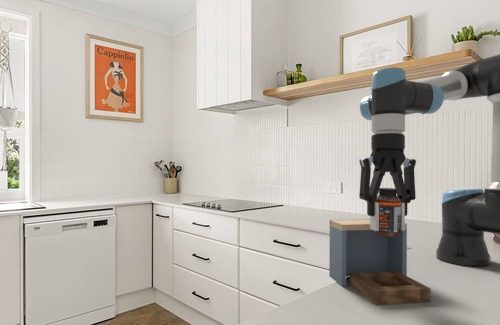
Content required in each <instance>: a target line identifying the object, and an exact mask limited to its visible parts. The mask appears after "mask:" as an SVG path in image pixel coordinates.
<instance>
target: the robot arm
mask: <svg viewBox="0 0 500 325" xmlns="http://www.w3.org/2000/svg"><path fill="white" fill-rule="evenodd" d="M370 90H371V94H369V95H366V96H365V97H363V98H362V99H361V101H360V104H359V110H360V111H359V112H360V114H361V116H362V117H363V118H364V119H365V120H367V121H371V133H373V134H372V136H371V137H370V138H371V140H370V141H371V143H370V144H371V147H370V149H371V153H370V156H369V157H368V156H367V157H363V158H359V164H360V182H359V183H360V184H359V193H358V194H359V200H363V201H365V202H366V213H367V216H369V219H370V229H372V230H375V231H379V203H375V202H376V199H377V197H378V196H379V189H380V188H381V185H382V181H383V180H384V179H383V178H384V176H385V175H386V174H387V173H389V175H390V176H391V178H392V182H393V185H394V188H395V189H397V194H396V195H397V197H398V198H399V199H400V200H401V228H400V230H402V231H405V223H406V222H405V221H406V217H407V216H408V204H410V203H411V202H412V201H415V200H416V182H415V181H416V179H415V178H416V177H415V168H416V164H417V160H416V159H415V158H411V159H410V158H408V157H406V154H405V153H404V152H405V147H406V136H405V134H404V132H405V131H406V116H407V115H413V114H421V115H425V114H426V115H427V114H429V115H431V114H433V113H436V112H437V111H438V110H439V109H441V107H442V105H443V103H444V101H447V100H448V101H458V100H462V99H463V100H464V99H473V98H481V97H486V99H487V100H488V101H489V102H490V103H491V104H492V130H491V131H492V132H491V133H492V134H491V159H490V160H491V161H490V162H491V165H490V166H491V167H490V168H491V170H490V183H489V184H487V185H486V186H485V187H484V189H483V188H474V189H471V188H470V189H469V188H468V189H456V190H453V189H452V190H447V191H444V192H443V193H442V197H441V198H442V200H441V225H442V226H441V227H442V228H441V229H442V230H441V232H442V234H441V237H440V241H439V243H438V247H437V249H436V254H435V255H436V259H438V260H439V261H440V260H441V261H442V262H446V263H449V264H455V265H460V266H469V267H484V266H485V267H486V266H489V265H491V262H492V261H491V258H492V257H491V255H490V253H489V248H488V246H487V244H486V241H485V236H484V235H485V233H490V234H494V235H495V234H496V235H500V53H498V54H497V55H496V54H495V55H493V56H489V57H486V58H482V59H477V60H475V61H472V62H469V63H468V64H465V65H462V66H461V67H458V68H455V69H453V70H449V71H446V72H444V74H442V76H438V77H435V78H430V79H426V80H423V81H412V80H408V79H407V76H406V71H405V70H404V69H403V68H401V67H397V66H393V67H385V68H380V69H377V70H376V71H375V72H373V74H372V79H371V88H370ZM372 165H373V166H374V169H373V172H371V170H372V168H371V166H372ZM401 166H403V169H402V167H401ZM371 174H372V179H371Z"/></svg>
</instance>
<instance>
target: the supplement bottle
mask: <svg viewBox="0 0 500 325" xmlns="http://www.w3.org/2000/svg"><path fill="white" fill-rule="evenodd" d="M375 203H379V231H375V230H374V233H375V234H376V235H378V236H383V237H398V236H400V228H401V200H400V199H399V198H398V197H397V189H395V187H394V188H393V187H380V189H379V192H378V196H377V199H376V202H375Z"/></svg>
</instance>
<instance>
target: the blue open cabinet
mask: <svg viewBox="0 0 500 325" xmlns="http://www.w3.org/2000/svg"><path fill="white" fill-rule="evenodd" d="M407 232H408V224H407V222H405V231H402V230H400V236H398V237H383V236H378V235H376V234H375V233H374V230H372V229H370V218H369V219H368V218H367V219H366V218H364V219H362V218H361V219H329V269H328V270H329V274H328V275H329V278H331V279H333V281H335V282H336V283H337V284H338V285H340V286H341V287H346V286H347V278H350V273H366V272H388V271H398V272H400V273H402V274H403V275H405V276H407V277H408V275H407V274H408V273H407V272H408V268H407V267H408V266H407V265H408V263H407V262H408V261H407V260H408V259H407V258H408V252H407V251H408V244H407V243H408V242H407V241H408V240H407V237H408V233H407Z"/></svg>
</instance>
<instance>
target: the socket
mask: <svg viewBox="0 0 500 325" xmlns="http://www.w3.org/2000/svg"><path fill="white" fill-rule="evenodd" d="M349 285H350V287H352V288H354V289H355V290H356V291H357V292H358V293H360V294H361V295H363V296H364V297H366V298H367V299H368V300H369V301H371V302H372V303H374V304H375V305H376V306H382V305H399V304H412V303H413V304H416V303H430V302H431V288H430V287H429V286H427V285H425V284H423V283H421V282H420V281H418V280H416V279H413V278H411V277H410V276H408V275H407V276H405V275H403V274H402V273H400V272H398V271H388V272H366V273H350V277H349Z"/></svg>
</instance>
